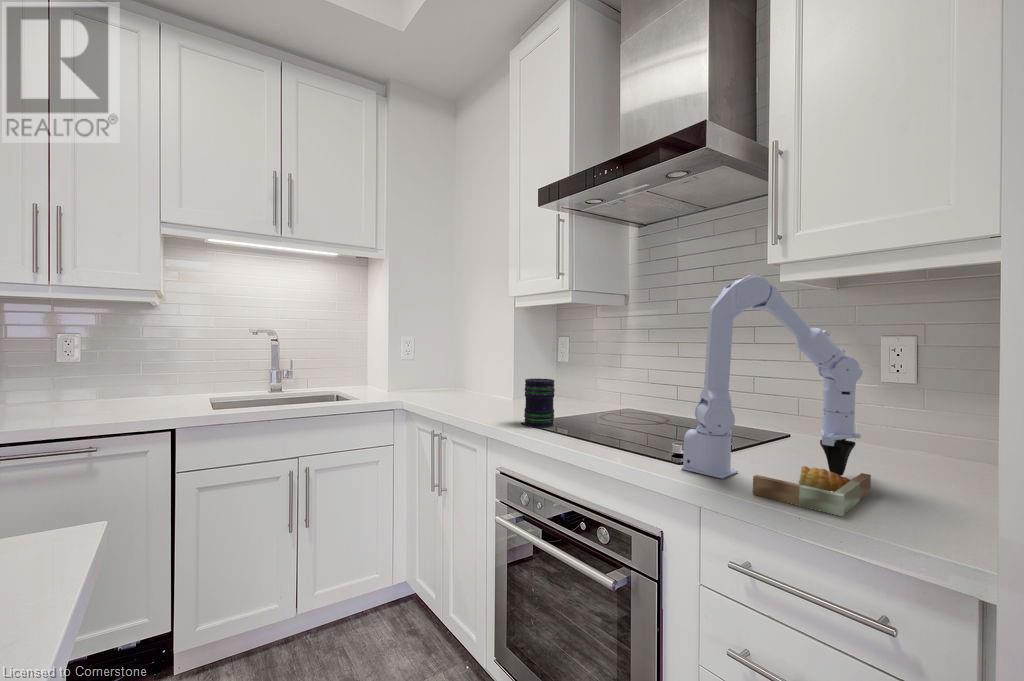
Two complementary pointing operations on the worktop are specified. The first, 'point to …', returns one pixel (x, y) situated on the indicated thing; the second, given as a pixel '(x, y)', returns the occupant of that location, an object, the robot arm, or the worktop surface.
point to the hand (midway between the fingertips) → (836, 474)
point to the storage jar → (539, 403)
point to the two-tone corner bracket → (814, 493)
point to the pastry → (821, 479)
